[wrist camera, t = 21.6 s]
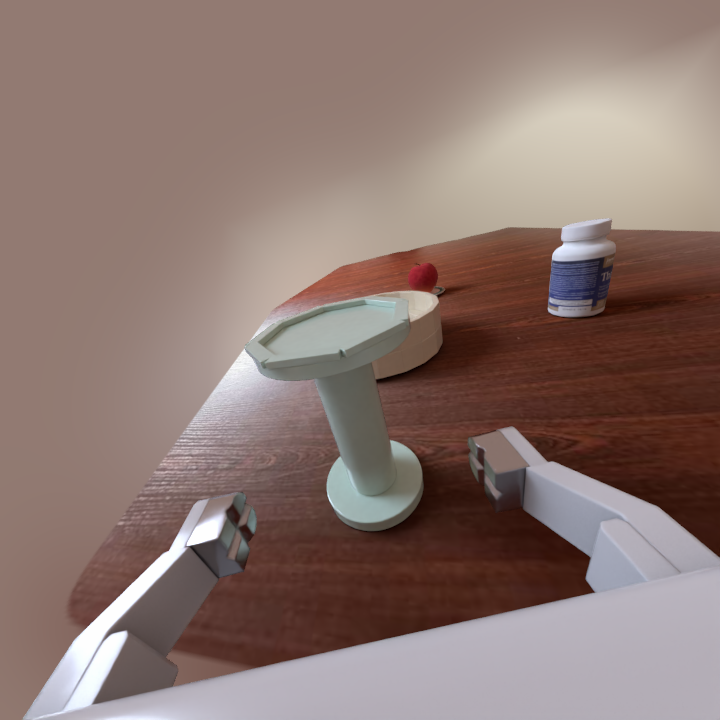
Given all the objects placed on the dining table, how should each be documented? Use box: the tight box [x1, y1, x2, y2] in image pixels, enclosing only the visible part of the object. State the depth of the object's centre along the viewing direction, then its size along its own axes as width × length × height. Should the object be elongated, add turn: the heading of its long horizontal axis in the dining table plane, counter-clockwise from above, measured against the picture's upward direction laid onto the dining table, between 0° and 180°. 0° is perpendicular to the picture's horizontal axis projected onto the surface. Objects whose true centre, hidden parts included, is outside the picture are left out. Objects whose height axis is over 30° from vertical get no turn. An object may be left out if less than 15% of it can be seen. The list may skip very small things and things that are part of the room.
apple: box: [408, 263, 445, 296], centre depth 52 cm, size 8×8×6 cm
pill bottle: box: [548, 219, 616, 317], centre depth 30 cm, size 5×5×10 cm
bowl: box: [368, 291, 443, 379], centre depth 33 cm, size 16×16×6 cm
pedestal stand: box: [244, 296, 424, 531], centre depth 14 cm, size 7×7×11 cm
